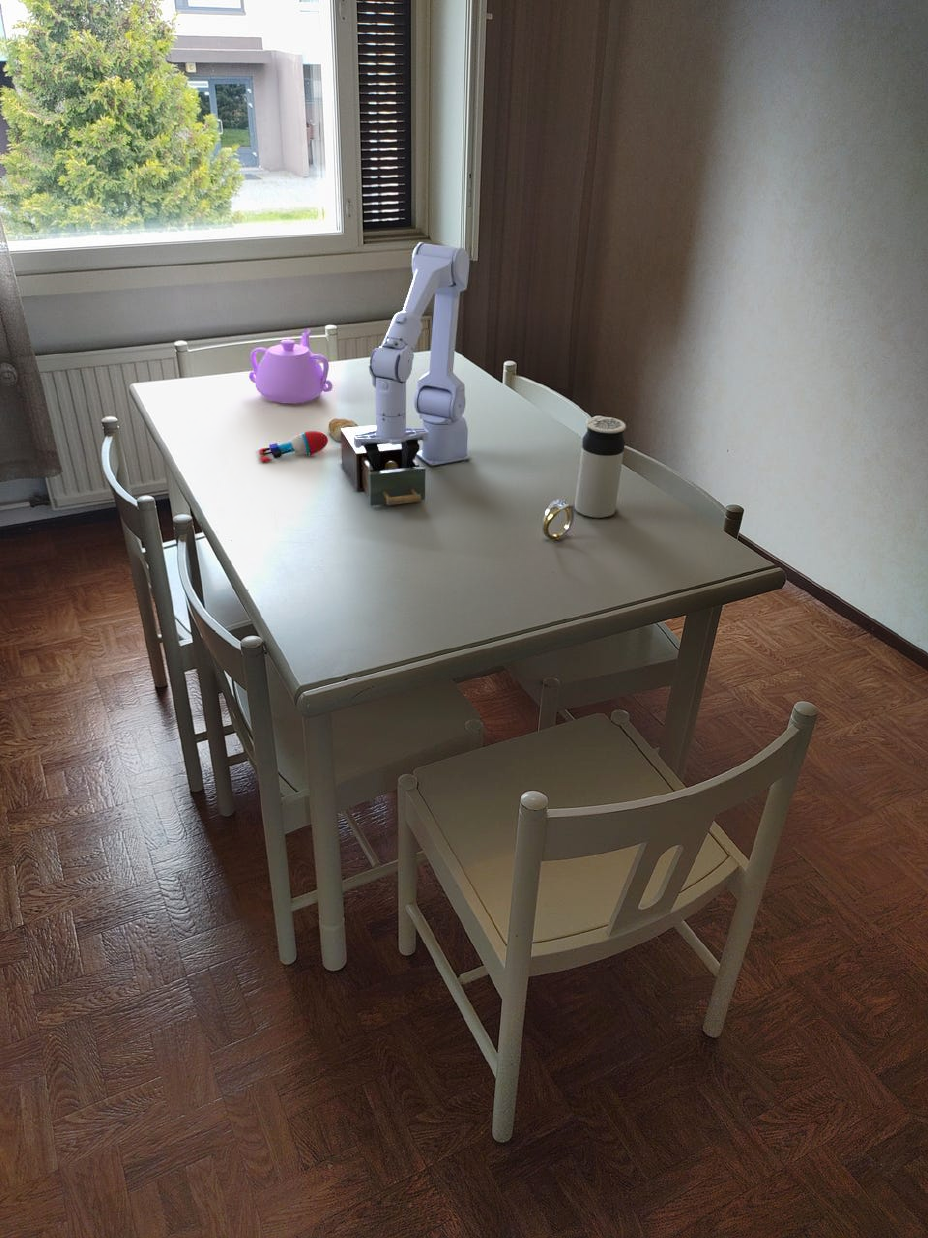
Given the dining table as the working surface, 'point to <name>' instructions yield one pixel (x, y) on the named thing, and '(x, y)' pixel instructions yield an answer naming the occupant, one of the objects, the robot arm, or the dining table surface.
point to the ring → (547, 519)
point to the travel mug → (600, 467)
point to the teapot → (290, 372)
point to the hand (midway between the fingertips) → (391, 477)
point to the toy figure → (297, 445)
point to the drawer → (392, 481)
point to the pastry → (339, 427)
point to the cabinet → (359, 452)
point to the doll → (391, 465)
